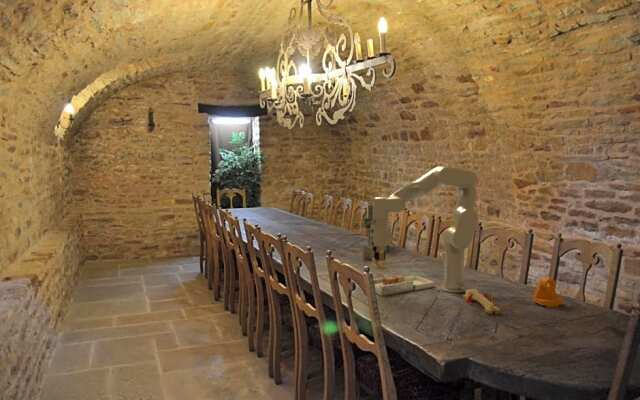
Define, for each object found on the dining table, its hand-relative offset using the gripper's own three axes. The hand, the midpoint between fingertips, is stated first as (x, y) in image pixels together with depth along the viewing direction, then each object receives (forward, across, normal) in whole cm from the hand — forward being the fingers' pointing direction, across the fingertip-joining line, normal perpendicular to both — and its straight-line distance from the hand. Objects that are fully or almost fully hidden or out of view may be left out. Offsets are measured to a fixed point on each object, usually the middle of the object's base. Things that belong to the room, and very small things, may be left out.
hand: (379, 258), depth 249 cm
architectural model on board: (+17, +40, +60) cm, 74 cm away
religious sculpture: (+17, +64, +87) cm, 109 cm away
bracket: (+16, +54, -55) cm, 79 cm away
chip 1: (+13, +6, 0) cm, 15 cm away
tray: (+16, +23, 0) cm, 28 cm away
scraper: (+4, 0, 0) cm, 4 cm away
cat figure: (+17, +26, -41) cm, 51 cm away
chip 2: (+13, +12, 0) cm, 18 cm away
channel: (+16, +6, 0) cm, 18 cm away
